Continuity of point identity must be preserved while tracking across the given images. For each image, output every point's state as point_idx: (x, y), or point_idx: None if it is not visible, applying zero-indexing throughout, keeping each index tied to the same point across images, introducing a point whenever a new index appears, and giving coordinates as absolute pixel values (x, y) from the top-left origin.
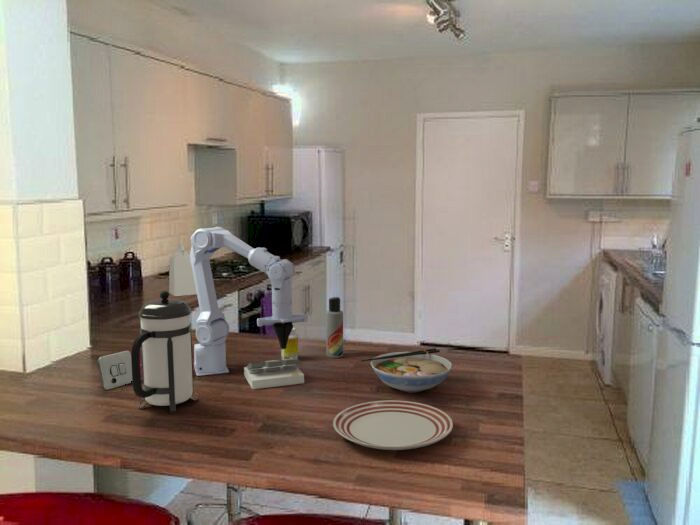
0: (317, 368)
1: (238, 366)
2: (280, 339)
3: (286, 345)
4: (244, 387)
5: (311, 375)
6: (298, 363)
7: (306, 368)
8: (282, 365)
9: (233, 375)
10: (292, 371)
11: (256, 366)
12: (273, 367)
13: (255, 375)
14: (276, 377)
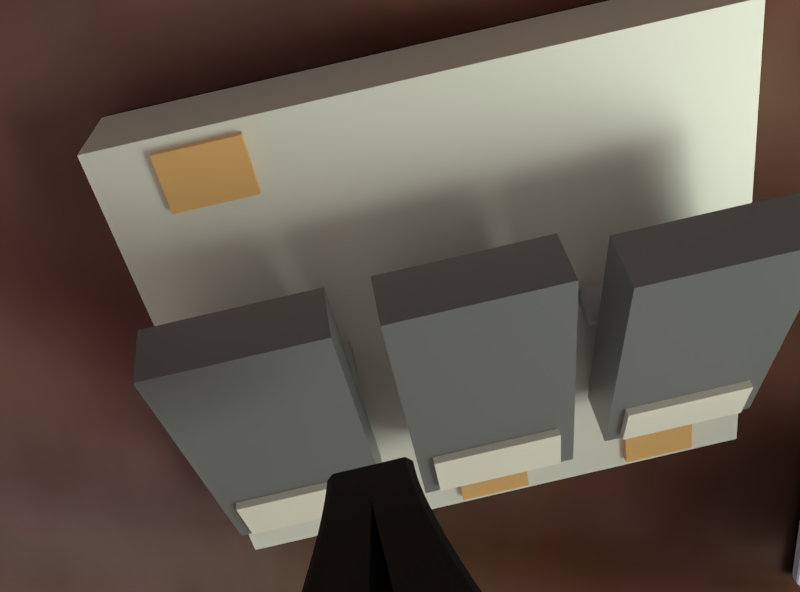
0: (16, 514)
1: (698, 562)
2: (470, 589)
3: (324, 515)
4: (774, 59)
5: (49, 346)
6: (148, 332)
7: (128, 516)
8: (373, 279)
9: (786, 388)
10: (243, 288)
11: (737, 215)
12: None
13: (683, 192)
14: (447, 86)
